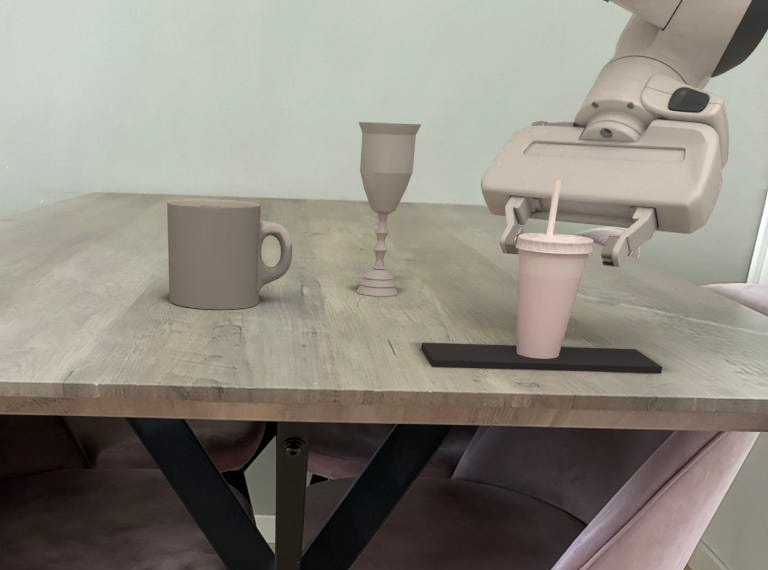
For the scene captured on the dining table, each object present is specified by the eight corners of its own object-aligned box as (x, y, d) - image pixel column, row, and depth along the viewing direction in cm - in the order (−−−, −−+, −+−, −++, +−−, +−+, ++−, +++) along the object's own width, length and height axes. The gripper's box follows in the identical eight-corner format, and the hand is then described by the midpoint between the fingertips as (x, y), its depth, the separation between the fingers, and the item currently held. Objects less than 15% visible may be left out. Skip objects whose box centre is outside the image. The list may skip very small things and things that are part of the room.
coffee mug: (160, 306, 102) (157, 204, 97) (180, 291, 111) (178, 197, 106) (284, 313, 101) (287, 210, 96) (294, 298, 110) (297, 203, 105)
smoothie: (514, 343, 89) (539, 176, 82) (582, 352, 86) (613, 181, 79) (490, 355, 84) (514, 179, 77) (562, 365, 81) (593, 184, 74)
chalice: (379, 285, 119) (391, 122, 111) (418, 294, 115) (434, 124, 106) (335, 290, 115) (345, 121, 106) (375, 299, 111) (388, 123, 102)
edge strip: (634, 355, 89) (635, 349, 88) (661, 373, 83) (662, 366, 82) (420, 349, 88) (421, 342, 88) (432, 366, 82) (432, 359, 82)
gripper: (512, 94, 86) (442, 217, 84) (744, 98, 75) (669, 240, 73) (528, 149, 91) (463, 266, 90) (747, 160, 80) (677, 295, 78)
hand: (557, 255), depth 81 cm, fingers open, 8 cm apart
